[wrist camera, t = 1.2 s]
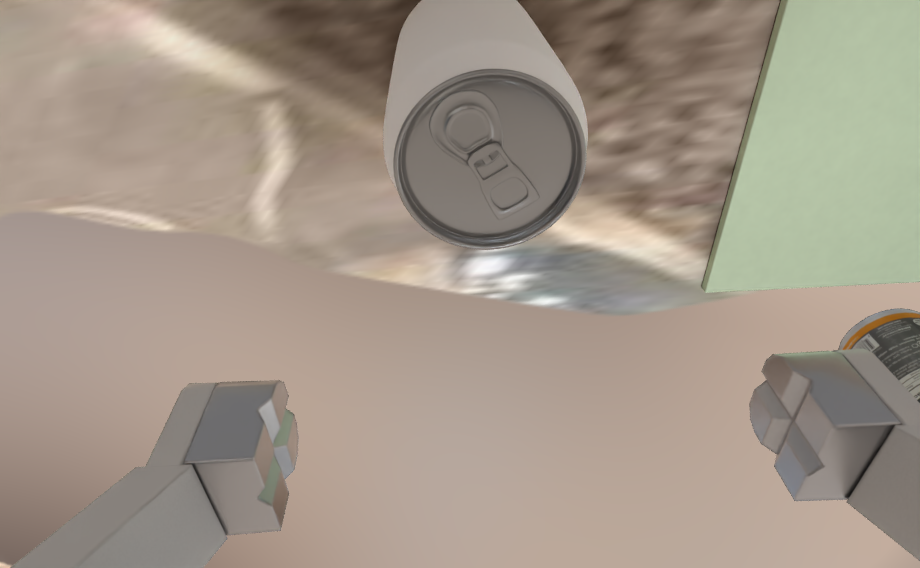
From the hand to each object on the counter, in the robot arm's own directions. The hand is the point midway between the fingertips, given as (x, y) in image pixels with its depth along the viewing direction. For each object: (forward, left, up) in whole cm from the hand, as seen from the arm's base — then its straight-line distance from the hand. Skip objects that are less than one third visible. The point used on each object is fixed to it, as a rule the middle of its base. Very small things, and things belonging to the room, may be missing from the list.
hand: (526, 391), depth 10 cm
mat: (+4, +23, -20) cm, 31 cm away
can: (0, 0, -21) cm, 21 cm away
